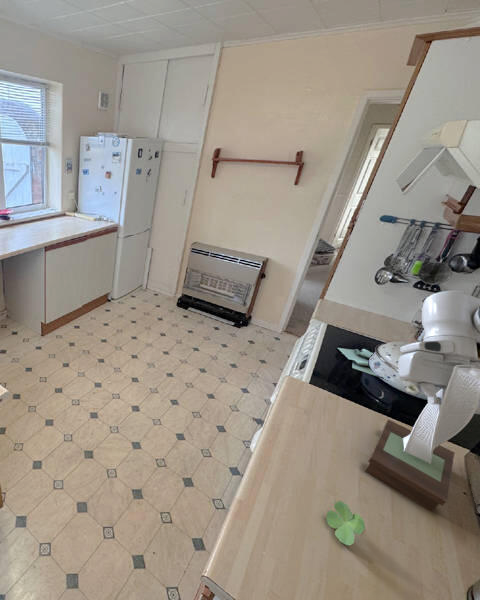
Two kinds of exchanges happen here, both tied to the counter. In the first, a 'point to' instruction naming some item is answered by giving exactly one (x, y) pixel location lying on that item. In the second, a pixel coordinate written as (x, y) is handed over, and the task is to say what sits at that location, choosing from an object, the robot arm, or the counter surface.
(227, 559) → the counter surface
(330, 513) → the seedling
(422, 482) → the wooden jewelry box
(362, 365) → the cloth
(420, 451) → the white twisted piece
